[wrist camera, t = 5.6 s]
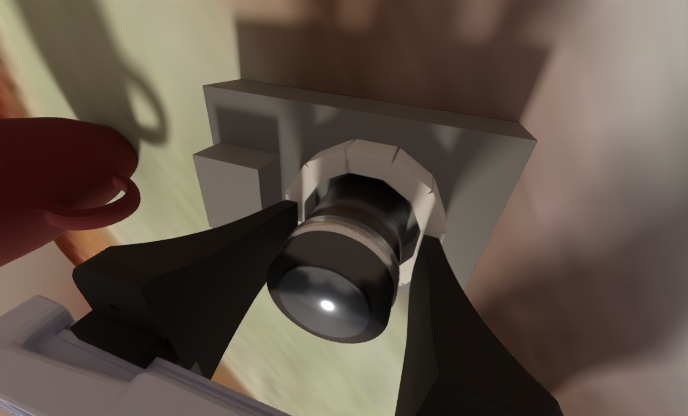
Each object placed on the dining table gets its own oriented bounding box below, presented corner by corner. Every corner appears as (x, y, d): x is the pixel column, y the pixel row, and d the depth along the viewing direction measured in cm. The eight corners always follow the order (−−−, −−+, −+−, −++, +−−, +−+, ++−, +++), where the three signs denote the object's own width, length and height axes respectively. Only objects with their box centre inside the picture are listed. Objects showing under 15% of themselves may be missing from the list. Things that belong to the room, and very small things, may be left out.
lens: (403, 254, 14) (383, 365, 9) (325, 236, 16) (269, 327, 11) (418, 177, 12) (401, 272, 7) (324, 163, 13) (251, 236, 8)
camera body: (452, 272, 18) (455, 339, 14) (256, 218, 21) (211, 259, 17) (518, 122, 12) (556, 159, 8) (240, 79, 15) (168, 91, 11)
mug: (173, 120, 19) (-36, 179, 10) (191, 213, 23) (55, 304, 15) (59, 87, 20) (-197, 115, 12) (96, 179, 25) (-71, 244, 17)
